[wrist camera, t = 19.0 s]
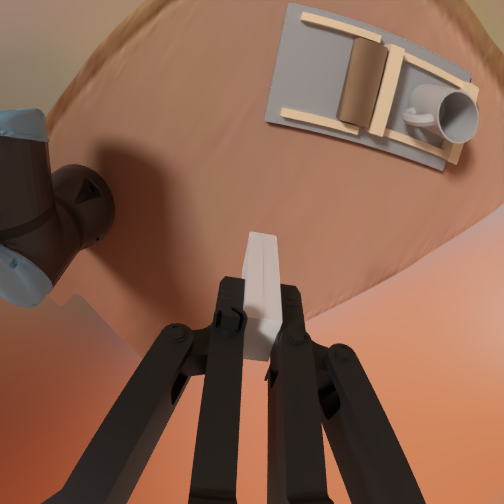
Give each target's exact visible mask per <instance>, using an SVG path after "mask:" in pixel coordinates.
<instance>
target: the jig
mask: <svg viewBox="0 0 504 504" xmlns="http://www.w3.org/2000/svg"><path fill="white" fill-rule="evenodd" d="M357 38H363V39H366V40H369V41H371V42H374V43H377V44H380V45H382V46H385V47H387V48H388V51H387V55H386V60H385V64H384V68H383V73H382V77H381V81H380V85H379V89H378V93H377V97H376V101H375V104H374V108H373V112H372V116H371V119H370V123H369V127H368V128H366V127H363V126H360V125H356V124H353V123H349V122H346V121H342V120H340V119H338V118H337V117H336V113H337V109H338V105H339V101H340V97H341V93H342V88H343V84H344V80H345V76H346V71H347V67H348V63H349V58H350V54H351V49H352V45H353V40H354V39H357ZM470 78H471V73H470V72H468V71H466V70H465V69H463V68H461V67H459V66H458V65H456V64H454V63H452V62H451V61H449V60H447V59H445V58H443V57H441V56H439V55H438V54H436V53H434V52H432V51H430V50H428V49H426V48H424V47H421V46H419V45H417V44H415V43H413V42H411V41H408V40H406V39H404V38H402V37H399V36H397V35H395V34H392V33H390V32H387V31H385V30H382V29H379V28H377V27H374V26H371V25H369V24H366V23H363V22H360V21H357V20H354V19H351V18H348V17H345V16H341V15H338V14H335V13H331V12H328V11H324V10H320V9H316V8H312V7H308V6H304V5H300V4H295V3H290V2H288V6H287V10H286V15H285V20H284V24H283V29H282V34H281V39H280V44H279V48H278V53H277V58H276V63H275V68H274V73H273V78H272V83H271V88H270V93H269V98H268V103H267V108H266V113H265V118H264V121H267V122H272V123H277V124H282V125H287V126H292V127H296V128H301V129H306V130H310V131H314V132H318V133H323V134H327V135H331V136H335V137H338V138H342V139H346V140H350V141H353V142H357V143H360V144H364V145H367V146H371V147H374V148H377V149H380V150H384V151H387V152H390V153H393V154H396V155H399V156H402V157H405V158H408V159H411V160H414V161H417V162H419V163H422V164H425V165H428V166H430V167H433V168H436V169H438V170H441V171H443V170H444V167H445V164H446V161H449V162H451V163H453V164H456V165H457V163H458V160H459V157H460V154H461V151H462V148H463V145H464V143H461V144H456V143H452V142H450V141H448V140H447V139H445V138H443V137H441V136H439V135H437V134H435V133H433V132H431V131H429V130H427V129H425V128H423V127H418V126H412V125H409V124H407V123H405V122H404V120H403V119H402V112H403V111H404V110H406V109H409V98H410V95H411V93H412V91H413V90H414V89H415V88H416V87H417V86H419V85H422V84H434V85H439V86H443V87H448V88H453V89H457V90H461V91H464V92H466V93H467V94H469V95H470V96H471V97H472V99H473V100H474V101H475V103H476V100H477V96H478V92H479V88H478V87H476V86H475V85H473V84H472V83H469V82H470Z"/></svg>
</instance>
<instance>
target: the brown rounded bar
mask: <svg viewBox="0 0 504 504" xmlns="http://www.w3.org/2000/svg"><path fill="white" fill-rule="evenodd" d="M387 51H388V48H387V47H385V46H382V45H380V44H377V43H374V42H371V41H369V40H366V39H363V38H357V39H354V40H353V45H352V49H351V54H350V58H349V63H348V67H347V71H346V76H345V80H344V84H343V88H342V93H341V97H340V101H339V105H338V109H337V113H336V117H337V118H338V119H340V120H342V121H346V122H349V123H353V124H356V125H360V126H363V127H366V128H368V127H369V123H370V119H371V116H372V112H373V108H374V104H375V101H376V97H377V93H378V89H379V85H380V81H381V77H382V73H383V68H384V64H385V60H386V55H387Z"/></svg>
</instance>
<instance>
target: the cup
mask: <svg viewBox="0 0 504 504" xmlns="http://www.w3.org/2000/svg"><path fill="white" fill-rule="evenodd" d="M402 119H403V120H404V122H405V123H407V124H409V125H412V126H418V127H423V128H425V129H427V130H429V131H431V132H433V133H435V134H437V135H439V136H441V137H443V138H445V139H447V140H448V141H450V142H452V143H456V144H461V143H465V142H467V141H469V140H470V139H471V138H472V137H473V136H474V134H475V133H476V130H477V128H478V123H479V112H478V108H477V105H476V103H475V101H474V100H473V99H472V97H471V96H470V95H469V94H467V93H466V92H464V91H461V90H457V89H453V88H448V87H443V86H439V85H434V84H422V85H419V86H417V87H416V88H415V89H414V90H413V91H412V93H411V95H410V98H409V109H406V110H404V111H403V112H402Z"/></svg>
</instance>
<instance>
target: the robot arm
mask: <svg viewBox="0 0 504 504" xmlns="http://www.w3.org/2000/svg"><path fill="white" fill-rule="evenodd" d="M48 142H49V138H48V137H47V130H46V120H45V115H44V113H43V112H42V111H41V110H40V109H38V108H20V109H12V110H5V111H0V296H1V297H2V298H3V299H5V300H6V301H8V302H9V303H11V304H14V305H16V306H19V307H23V308H33V307H36V306H37V305H39V304H40V303H41V302H42V300H43V299H44V298H45V297H46V295H47V294H49V293H50V292H51V291H52V289H53V287H54V286H55V284H56V283H57V282H58V280H59V279H60V277H61V276H62V274H63V273H64V271H65V270H66V269H67V267H68V266H69V264H70V263H71V262H72V260H73V259H74V258H75V256H76V255H77V253H78V252H79V251H81V250H83V249H85V248H87V247H89V246H90V245H93V244H94V243H96V242H98V241H99V240H100V239H102V238H103V236H104V235H105V234H106V233H107V231H108V230H109V229H110V227H111V225H112V222H113V219H114V202H113V198H112V195H111V193H110V190H109V188H108V187H107V185H106V184H105V182H104V181H103V180H102V178H101V177H100V176H99V175H98V174H96V173H95V172H94V171H92V170H91V169H89V168H87V167H85V166H82V165H76V164H71V165H66V166H63V167H61V168H59V169H58V170H56V171H55V172H53V173H52V174H51V167H50V158H49V147H48ZM301 301H302V300H301V293H300V292H299V290H298V289H297V287H296V286H292V285H285V284H280V277H279V263H278V250H277V237H276V236H274V235H268V234H262V233H256V232H250V235H249V240H248V245H247V250H246V255H245V260H244V265H243V270H242V279H241V278H234V277H228V276H225V277H224V278H223V279H222V280H221V282H220V285H219V291H218V297H217V303H216V309H215V313H214V318H213V322H212V323H211V325H209V326H208V327H206V328H204V329H200V330H191V329H190V328H189V327H187V326H186V325H184V324H179V323H175V324H170V325H168V326H166V327H165V328H164V329H163V330H162V331H161V333H160V334H159V336H158V337H157V339H156V340H155V342H154V343H153V345H152V346H151V348H150V349H149V351H148V352H147V354H146V355H145V357H144V358H143V360H142V361H141V363H140V364H139V366H138V367H137V369H136V370H135V372H134V374H133V375H132V377H131V378H130V380H129V381H128V383H127V385H126V386H125V387H124V389H123V391H122V392H121V394H120V395H119V397H118V399H117V400H116V402H115V403H114V405H113V406H112V408H111V410H110V411H109V413H108V414H107V416H106V417H105V419H104V421H103V422H102V424H101V425H100V427H99V429H98V430H97V432H96V434H95V435H94V437H93V438H92V440H91V442H90V443H89V445H88V447H87V448H86V450H85V451H84V453H83V455H82V456H81V458H80V460H79V461H78V463H77V465H76V466H75V468H74V470H73V471H72V473H71V475H70V477H69V478H68V480H67V482H66V483H65V485H64V487H63V488H62V490H60V491H59V492H57V493H56V494H54V495H53V496H52V497H50V498H49V499H47V500H46V501H44V502H43V503H41V504H126V503H127V501H128V500H129V498H130V496H131V494H132V492H133V490H134V488H135V486H136V484H137V482H138V480H139V477H140V476H141V474H142V472H143V470H144V468H145V466H146V464H147V462H148V460H149V458H150V456H151V454H152V452H153V450H154V448H155V446H156V445H157V442H158V441H159V439H160V436H161V435H162V433H163V431H164V429H165V427H166V425H167V423H168V421H169V419H170V417H171V415H172V413H173V411H174V409H175V407H176V405H177V403H178V401H179V399H180V397H181V395H182V393H183V391H184V389H185V387H186V385H187V383H188V381H189V379H190V378H191V376H195V375H203V374H205V379H204V386H203V393H202V400H201V407H200V414H199V422H198V429H197V436H196V445H195V452H194V460H193V469H192V477H191V485H190V493H189V500H188V504H237V500H236V479H237V460H238V441H239V422H240V402H241V385H242V367H243V359H250V360H258V361H268V360H269V357H270V366H269V369H268V371H267V374H266V376H265V381H267V379H268V471H267V472H268V474H267V504H334V503H333V501H332V500H331V499H330V498H329V496H328V493H327V481H326V469H325V456H324V445H323V434H322V425H323V428H324V430H325V433H326V436H327V438H328V441H329V444H330V446H331V449H332V452H333V455H334V457H335V460H336V463H337V465H338V468H339V471H340V474H341V476H342V479H343V481H344V484H345V487H346V490H347V492H348V495H349V498H350V501H351V503H352V504H426V503H425V501H424V498H423V496H422V493H421V491H420V489H419V486H418V484H417V482H416V479H415V477H414V475H413V473H412V470H411V468H410V466H409V464H408V461H407V459H406V457H405V455H404V452H403V450H402V448H401V446H400V444H399V442H398V440H397V437H396V435H395V433H394V431H393V429H392V427H391V424H390V422H389V420H388V418H387V416H386V414H385V412H384V410H383V408H382V406H381V404H380V402H379V399H378V398H377V395H376V393H375V391H374V389H373V387H372V385H371V383H370V381H369V379H368V377H367V375H366V373H365V371H364V369H363V367H362V365H361V363H360V361H359V359H358V358H357V356H356V354H355V352H354V351H353V350H352V348H350V347H349V346H347V345H345V344H339V343H338V344H334V345H332V346H331V347H330V348H327V347H325V346H322V345H319V344H317V343H315V342H314V341H312V340H311V338H310V335H309V334H308V333H307V332H306V330H305V323H304V315H303V309H302V302H301ZM321 422H322V425H321Z"/></svg>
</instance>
